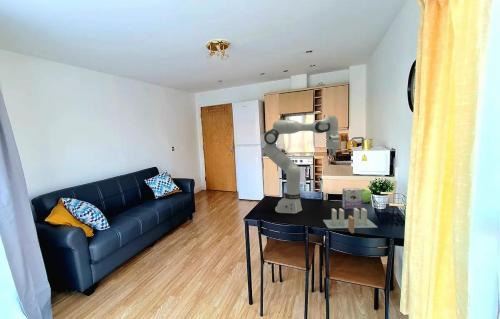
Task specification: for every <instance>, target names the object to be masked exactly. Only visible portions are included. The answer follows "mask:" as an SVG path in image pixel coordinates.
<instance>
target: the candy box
mask: <svg viewBox="0 0 500 319" xmlns="http://www.w3.org/2000/svg"><path fill="white" fill-rule="evenodd" d="M362 189H363V188H360V187H353V188H352V187H350V188H344V187H343V188H342V209H343V210H354V208H357V209H358V210H361V208H363V201H362Z"/></svg>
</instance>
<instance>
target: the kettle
mask: <svg viewBox="0 0 500 319" xmlns="http://www.w3.org/2000/svg"><path fill="white" fill-rule="evenodd" d="M361 189H362V204H366V203H368V202H369V203H370V202H372V200H371V192H370V191H371V190H367V189H365V188H361Z"/></svg>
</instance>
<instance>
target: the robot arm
mask: <svg viewBox="0 0 500 319" xmlns="http://www.w3.org/2000/svg"><path fill="white" fill-rule="evenodd" d="M338 129H339V119H338V118H337V116H334V115H327V116H326V117H324V118H323V119H321V120H317V121H314V122H310V123H309V122H308V123H307V122H299V121H297V120H294V119H293V120H292V119H280V120H276V121H274V122H273V124H272V129H269V130H267V131H265V133H264V136H263V141H264V142H265V145H264V147H263V152H264V154H265V155H266V156H267V158H269V160H271V161H272V162H273V163H274V164H275V165H276V166H277V167H279V168H280V169H281V170H282V171H284V172H285V176H286V177H285V178H286V179H285V180H286V181H285V186H286V187H285V189H286V192H282V193H283V198H281V199H280V200H279V201H277V202H278V203H277V206H275V208H274V210H275V212H276V213H279V214H298V213H299V212H301V211H303V208H302V202H301V196H302V195H301V194H302V193H301V188H300V187H301V186H300V185H301V183H300V182H301V169H300V168H301V167H299V166H298V164H296V163H295V161H293V160H292V159H291V158H290V157H289V156H287V155H286V153H285V152H283V151H282V150H281V149H280V148H279V147H278V146H277V145H276V143H277V141H278V139H279V137H280V135H283V134H284V135H286V134H287V135H291V134H296V133H299V132H313V133H315V134H323V133H325V140H326V142H325V144H326V148H327V150H328V154H329V155H331V154H332V156H336V152H337V150H339V149H340V139H341V138H340V135H339V130H338Z"/></svg>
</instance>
